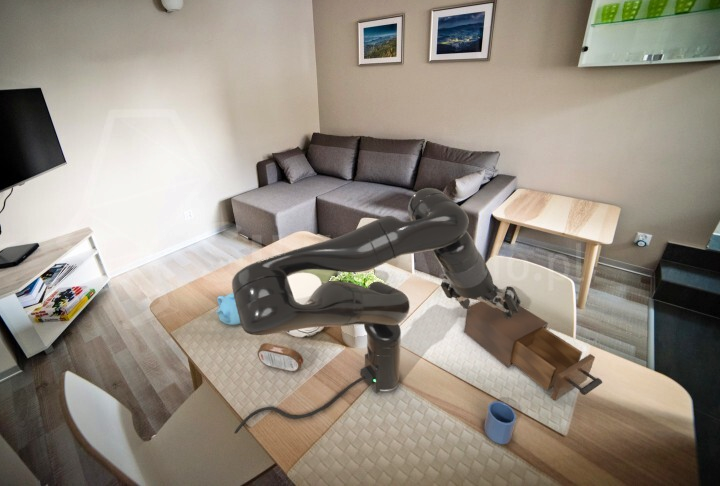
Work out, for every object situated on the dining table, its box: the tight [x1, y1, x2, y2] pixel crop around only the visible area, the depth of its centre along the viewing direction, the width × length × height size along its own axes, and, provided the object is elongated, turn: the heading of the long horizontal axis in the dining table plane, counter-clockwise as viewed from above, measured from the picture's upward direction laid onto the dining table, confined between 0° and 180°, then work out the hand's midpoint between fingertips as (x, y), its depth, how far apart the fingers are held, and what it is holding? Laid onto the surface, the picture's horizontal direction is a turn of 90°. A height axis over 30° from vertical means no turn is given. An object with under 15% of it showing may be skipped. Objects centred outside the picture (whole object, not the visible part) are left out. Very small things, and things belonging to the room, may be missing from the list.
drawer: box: [511, 327, 603, 402], centre depth 92 cm, size 20×14×9 cm
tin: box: [257, 342, 304, 373], centre depth 103 cm, size 15×3×8 cm, turn 71°
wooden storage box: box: [463, 298, 549, 369], centre depth 105 cm, size 17×15×11 cm
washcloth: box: [295, 270, 339, 284], centre depth 148 cm, size 13×18×3 cm
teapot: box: [214, 292, 241, 326], centre depth 126 cm, size 15×15×10 cm
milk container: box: [285, 273, 325, 339], centre depth 117 cm, size 17×17×18 cm
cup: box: [483, 400, 517, 445], centre depth 80 cm, size 6×6×7 cm
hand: (487, 310), depth 72 cm, fingers open, 8 cm apart
